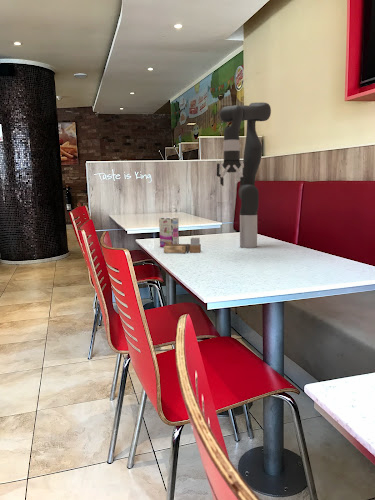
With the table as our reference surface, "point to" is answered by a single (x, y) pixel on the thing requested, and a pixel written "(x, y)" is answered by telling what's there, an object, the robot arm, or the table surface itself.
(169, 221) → the candy bar box
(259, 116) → the robot arm
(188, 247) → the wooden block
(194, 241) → the collar
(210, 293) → the table surface
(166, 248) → the block
